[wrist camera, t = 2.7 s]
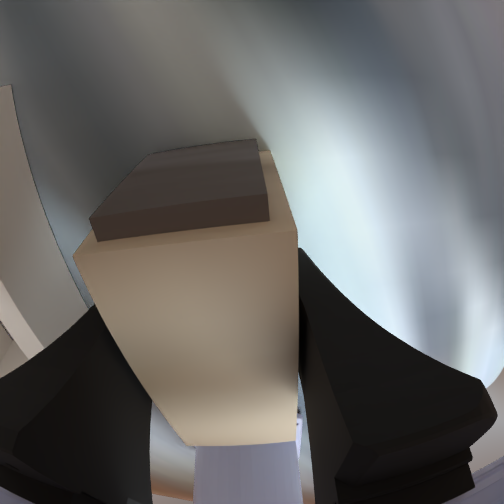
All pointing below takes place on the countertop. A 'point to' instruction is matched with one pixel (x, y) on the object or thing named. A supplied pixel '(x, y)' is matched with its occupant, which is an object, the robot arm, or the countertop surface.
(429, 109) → the countertop surface
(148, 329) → the beige boxy piece
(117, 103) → the countertop surface
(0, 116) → the white open frame
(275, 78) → the countertop surface
